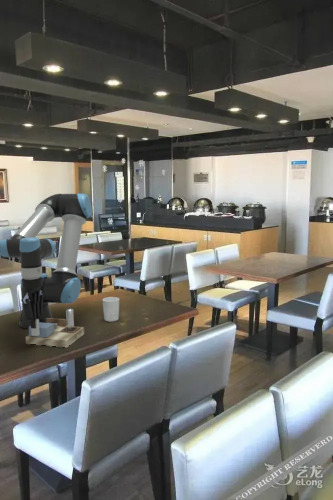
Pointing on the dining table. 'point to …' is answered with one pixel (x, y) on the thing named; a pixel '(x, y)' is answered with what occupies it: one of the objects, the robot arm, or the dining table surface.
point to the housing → (44, 329)
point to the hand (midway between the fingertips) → (35, 335)
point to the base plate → (57, 335)
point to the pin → (70, 319)
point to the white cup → (111, 308)
